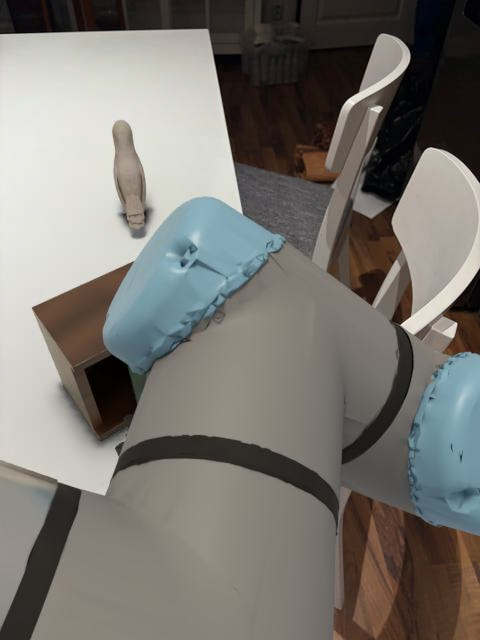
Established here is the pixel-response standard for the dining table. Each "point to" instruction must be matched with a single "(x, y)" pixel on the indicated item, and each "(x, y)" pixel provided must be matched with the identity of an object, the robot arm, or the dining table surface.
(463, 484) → the robot arm
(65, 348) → the cupboard
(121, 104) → the dining table surface
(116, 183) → the bird
